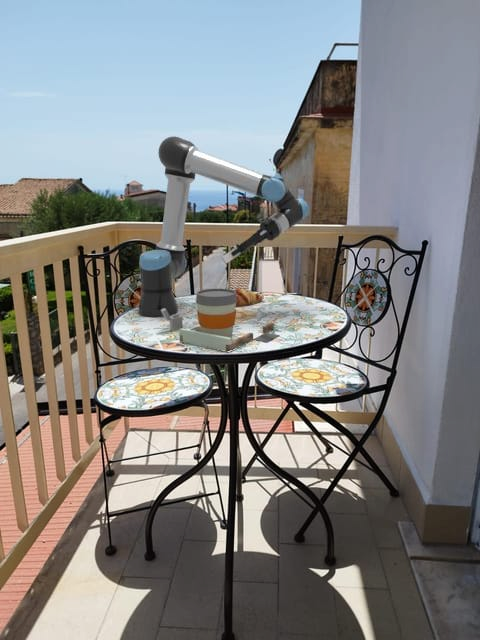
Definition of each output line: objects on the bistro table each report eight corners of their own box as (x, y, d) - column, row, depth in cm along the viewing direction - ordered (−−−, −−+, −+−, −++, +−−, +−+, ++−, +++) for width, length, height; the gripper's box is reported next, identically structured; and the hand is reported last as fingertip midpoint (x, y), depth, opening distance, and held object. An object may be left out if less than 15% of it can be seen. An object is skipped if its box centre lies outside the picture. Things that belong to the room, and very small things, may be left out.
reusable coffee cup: (201, 347, 125) (200, 298, 121) (193, 335, 137) (192, 289, 133) (242, 343, 129) (242, 295, 125) (231, 331, 140) (230, 287, 136)
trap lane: (217, 319, 155) (217, 313, 155) (287, 331, 140) (287, 325, 140) (167, 338, 134) (167, 332, 133) (244, 355, 119) (244, 348, 118)
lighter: (180, 328, 145) (179, 305, 143) (183, 329, 144) (181, 306, 142) (161, 331, 141) (160, 308, 139) (163, 332, 140) (162, 309, 138)
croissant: (259, 307, 187) (255, 290, 188) (271, 301, 178) (267, 283, 180) (216, 313, 176) (212, 294, 178) (227, 306, 168) (222, 287, 169)
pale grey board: (182, 340, 132) (181, 328, 131) (231, 351, 122) (231, 338, 121) (180, 341, 131) (179, 329, 130) (229, 352, 121) (229, 339, 120)
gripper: (286, 229, 150) (235, 264, 143) (273, 240, 163) (225, 273, 156) (274, 211, 150) (222, 246, 143) (262, 224, 162) (213, 256, 155)
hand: (223, 260), depth 149 cm, fingers closed
